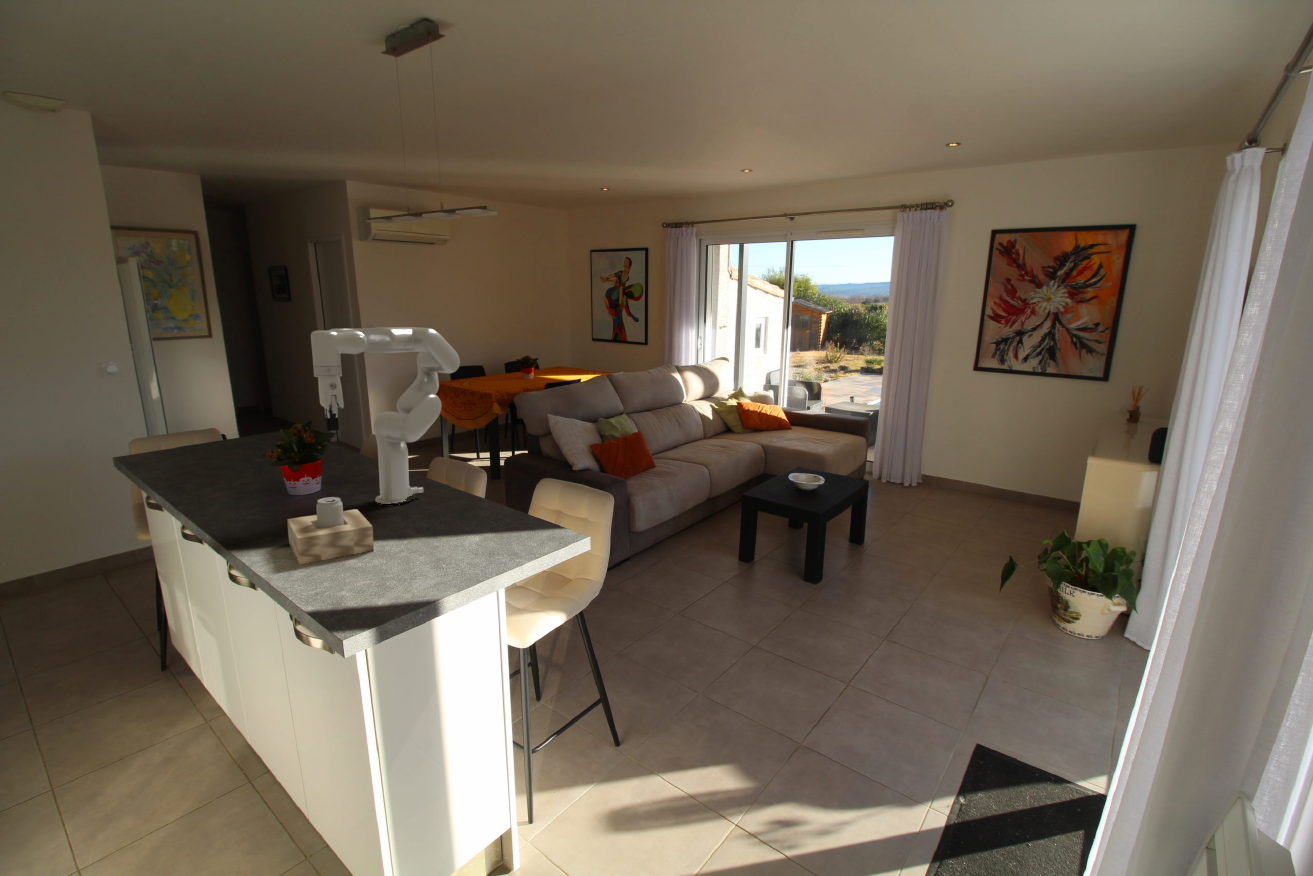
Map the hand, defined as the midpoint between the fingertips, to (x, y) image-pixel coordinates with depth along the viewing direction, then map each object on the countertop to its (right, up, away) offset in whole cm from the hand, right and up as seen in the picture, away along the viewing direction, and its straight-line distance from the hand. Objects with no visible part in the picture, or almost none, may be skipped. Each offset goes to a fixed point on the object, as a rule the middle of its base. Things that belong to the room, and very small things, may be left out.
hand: (332, 430), depth 190 cm
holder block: (+10, -33, -19) cm, 40 cm away
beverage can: (+10, -31, -20) cm, 39 cm away
